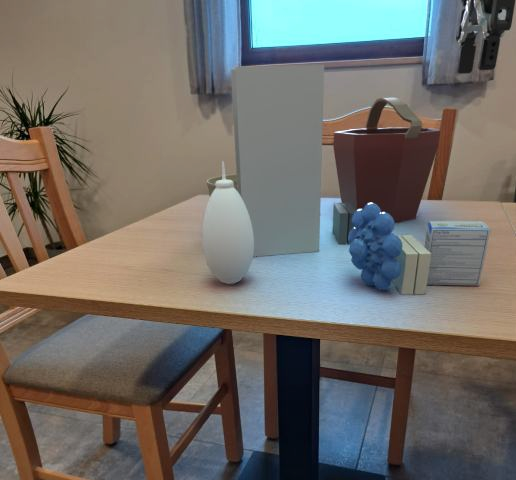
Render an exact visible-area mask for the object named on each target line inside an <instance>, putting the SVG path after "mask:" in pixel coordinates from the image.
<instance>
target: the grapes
mask: <svg viewBox="0 0 516 480" xmlns="http://www.w3.org/2000/svg"><path fill="white" fill-rule="evenodd" d="M352 224H353V225H354V227H353V228H352V229H351V230H350V232H349V235H348V241H349V243H350V244H349V248H348V253H349V255H350V256H351V263H352V265H353V266H354V267H355V268H356V269H359V270H360V271H361V273H360V278H361V280H362V281H363V283H364V284H365V285H367V286H369V287H376V288H377V289H378V290H380V291H388V289H390V287H391V285H392V283H393V281H392V279H396V278H397V277H399V275H400V273H401V264H400V262H399V261H398V260H397V259H396V258H395V257H397V256H399V255H400V253H401V251H402V246H403V245H402V241H401V239H400V238H399V237H398V236H397V235H398V234H395V233H393V231H394V229H395V224H396V223H394V220H393V218H392V217H391V215H390V214H388V213H386V212H381V210H380V208H379V207H378V206H377V204H374V203H368V204H367V205H366V206H365V207H364V209H358V210H357V211H356V212H355V213H354V215H353V217H352Z"/></svg>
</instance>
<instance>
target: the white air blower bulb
mask: <svg viewBox="0 0 516 480" xmlns="http://www.w3.org/2000/svg"><path fill="white" fill-rule="evenodd" d="M225 166H226V165H225V162H224V160H222V162H221V176H222V180H218V181H216V183H215V186H216V188H215V190H214V191H213V193H212V195H211V197H210V196H209V199H208V201H207V204H206V207H205V211H204V215H203V222H202V228H201V229H202V230H201V243H202V253H203V256H204V260H205V262H206V265H207V267H208V269H209V271H210V273H211V274H212V276H214V277H215V278H217V279H218V280H219V281H220V282H221V283H224V284H226V285H234V284H237V282H241V280H242V278H243V277H245V276H246V275H247V274H248V272H249V270H250V269H251V266H252V262H253V259H254V257H253V252H254V236H253V229H252V224H251V220H250V217H249V214H248V211H247V208H246V206H245V204H244V202H243V200H242V198H241V196H240V194H239V193H238V192H237V190H236V189H235V188H234V187H233V185H234V183H233V181H232V180H226V175H227V174H226V167H225Z"/></svg>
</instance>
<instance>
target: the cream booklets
mask: <svg viewBox="0 0 516 480" xmlns="http://www.w3.org/2000/svg"><path fill="white" fill-rule="evenodd" d="M396 235H397V236H398V237H399V238H400V239H401V241H402V245H403V246H402V251H401V253H400V255H399V256H397V257H395V258H396V259H397V260H398V261H399V262H400V264H401V273H400V275H399V277H397V278H396V279H392V283H393V284H394V287H396V288H397V291H398V292H399V293H400V294H401V296H405V295H426V294H427V287H428V285H427V280H428V273H429V266H430V259H431V253H430V252H429V251H428V250H427V249H426V248H425V245H423V244H422V243H421V242H419V240H418V239H416V238H415V237H414V235H412V234H401V235H400V234H396Z"/></svg>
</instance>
